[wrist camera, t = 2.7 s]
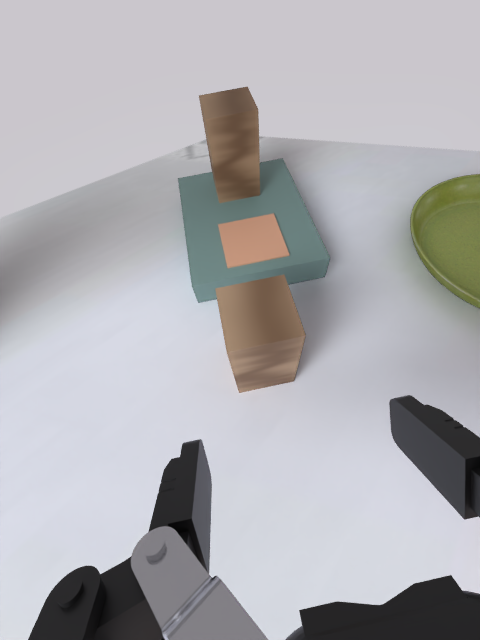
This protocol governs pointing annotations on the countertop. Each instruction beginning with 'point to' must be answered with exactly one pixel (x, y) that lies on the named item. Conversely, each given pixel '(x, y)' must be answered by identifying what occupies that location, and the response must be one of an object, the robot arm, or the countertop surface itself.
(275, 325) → the walnut block
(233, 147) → the walnut column
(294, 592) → the countertop surface
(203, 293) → the build board
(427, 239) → the saucer
